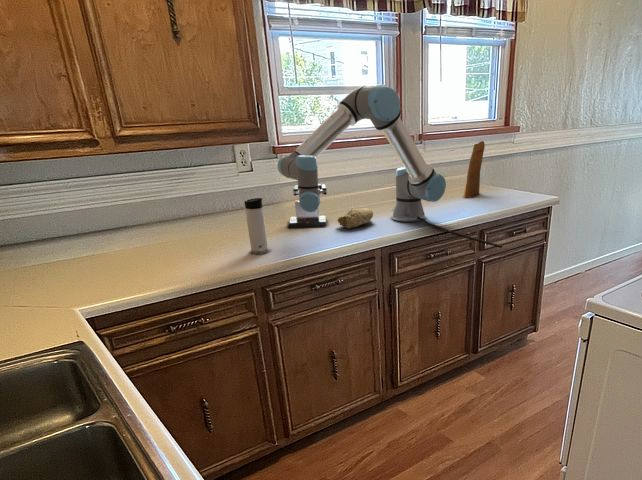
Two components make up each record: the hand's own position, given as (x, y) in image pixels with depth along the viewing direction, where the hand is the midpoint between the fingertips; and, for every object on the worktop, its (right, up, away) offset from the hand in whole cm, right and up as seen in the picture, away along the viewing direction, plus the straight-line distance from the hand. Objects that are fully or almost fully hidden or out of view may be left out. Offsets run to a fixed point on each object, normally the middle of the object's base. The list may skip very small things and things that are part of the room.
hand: (310, 184), depth 224 cm
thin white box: (-3, -12, +11) cm, 17 cm away
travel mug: (-15, -35, -26) cm, 46 cm away
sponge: (+20, -14, +11) cm, 27 cm away
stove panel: (-3, -14, +12) cm, 19 cm away
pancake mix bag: (+80, +16, +67) cm, 106 cm away
